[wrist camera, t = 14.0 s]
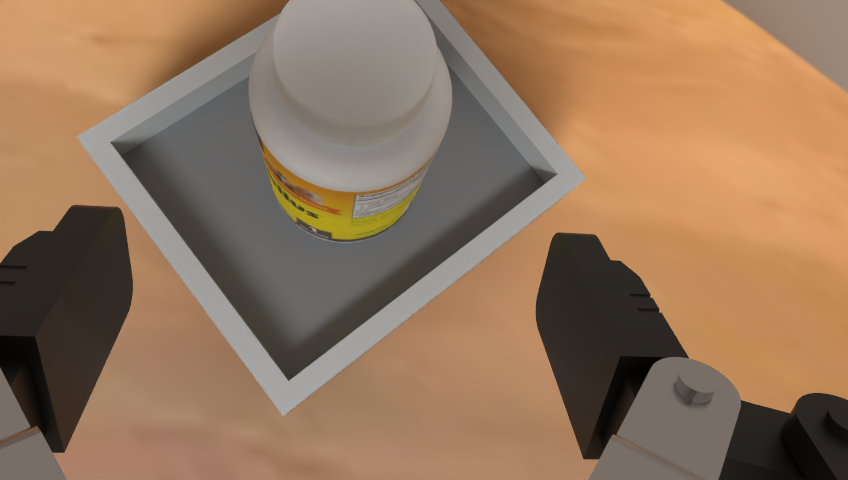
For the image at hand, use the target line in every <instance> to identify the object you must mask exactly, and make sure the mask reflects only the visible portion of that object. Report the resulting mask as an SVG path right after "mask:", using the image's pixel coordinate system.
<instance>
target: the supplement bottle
mask: <svg viewBox="0 0 848 480" xmlns="http://www.w3.org/2000/svg"><path fill="white" fill-rule="evenodd" d="M248 87H249V104H250V110H251V115H252V119H253V123H254V127H255V130H256V133H257V137H258V141H259V145H260V148H261V151H262V155H263V158H264V162H265V165H266V169H267V172H268V176H269V180H270V184H271V187H272V190H273V193H274V195H275V197H276V199H277V201H278V204H279V205H280V207H281V208H282V210H283V211H284V213H285V214H286V215H287V216H288V217H289V218H290V219H291V221H292V222H294V223H295V224H296V225H297V226H298V227H300V228H301V229H303V230H304V231H306V232H307V233H309V234H311V235H314V236H316V237H318V238H321V239H323V240H327V241H332V242H340V243H352V242H360V241H364V240H368V239H371V238H373V237H376V236H378V235H380V234H382V233H384V232H385V231H387V230H388V229H390V228H391V227H393V226H394V225H395V224H396V223H397V222H398V221H399V220H400V219H401V218H402V217H403V215H404V214H405V213H406V211H407V210H408V209H409V207H410V205H411V203H412V201H413V199H414V197H415V195H416V193H417V191H418V189H419V187H420V185H421V183H422V181H423V179H424V177H425V175H426V173H427V171H428V169H429V166H430V164H431V162H432V160H433V158H434V156H435V154H436V152H437V150H438V149H439V146H440V144H441V142H442V140H443V138H444V135H445V132H446V130H447V127H448V123H449V120H450V116H451V109H452V85H451V79H450V75H449V71H448V67H447V65H446V62H445V60H444V58H443V56H442V54H441V52H440V50H439V48H438V46H437V44H436V39H435V35H434V32H433V30H432V27H431V24H430V23H429V21H428V19H427V17H426V15H425V14H424V12H423V11H422V9H421V8H420V7H419V6H418V5H417V3H416V2H415V1H414V0H289V2H288V3H287V4H286V5H285V7H284V8H283V9H282V11H281V13H280V15H279V17H278V19H277V21H276V24H275V26H274V27H273V28H272V30H271V31H270V32H269V33H268V34H267V36H266V37H265V38H264V40H263V41H262V43H261V45H260V47H259V48H258V50H257V52H256V55H255V57H254V60H253V63H252V67H251V70H250V76H249V86H248Z"/></svg>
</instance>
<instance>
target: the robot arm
mask: <svg viewBox="0 0 848 480" xmlns="http://www.w3.org/2000/svg"><path fill="white" fill-rule="evenodd" d="M132 292H133V279H132V271H131V264H130V257H129V250H128V243H127V236H126V229H125V222H124V217H123V213H122V211H121V209H120V208H118V207H104V206H86V205H73V206H71V207H70V208H69V210H68V211H67V212H66V214H65V215H64V217H63V218H62V219H61V221H60V222H59V224H58V225H57V226H56V228H55V229H54V230H53V231H38V232H36V233H35V234H33V235H32V236H30V237H28V238H27V239H25V240H23V241H22V242H20V243H18V244H17V245H15V246H14V247H13V248H12V249H11V250H10V252H9V253H8V254H7V256H6V257H5V258H4V259H3V261H2V262H1V263H0V480H66V478H65V476H64V474H63V472H62V470H61V468H60V466H59V464H58V463H57V461H56V459H55V457H54V455H53V453H64V452H65V450H66V448H67V446H68V443H69V441H70V439H71V437H72V435H73V432H74V430H75V428H76V426H77V424H78V422H79V419H80V417H81V415H82V413H83V411H84V408H85V406H86V404H87V402H88V400H89V397H90V395H91V393H92V391H93V389H94V387H95V384H96V382H97V380H98V378H99V376H100V373H101V371H102V369H103V367H104V365H105V362H106V360H107V358H108V356H109V354H110V352H111V349H112V347H113V345H114V343H115V341H116V338H117V336H118V334H119V332H120V330H121V327H122V325H123V323H124V321H125V319H126V317H127V314H128V312H129V309H130V305H131V300H132ZM536 322H537V327H538V330H539V333H540V336H541V339H542V342H543V344H544V347H545V350H546V353H547V356H548V359H549V362H550V365H551V367H552V370H553V373H554V376H555V379H556V382H557V385H558V387H559V390H560V393H561V396H562V399H563V402H564V405H565V407H566V410H567V413H568V416H569V419H570V422H571V425H572V427H573V430H574V433H575V436H576V439H577V442H578V445H579V447H580V450H581V453H582V456H583V459H599V461H598V463H597V465H596V466H595V468H594V470H593V472H592V474H591V476H590V478H589V480H848V400H846V399H843V398H840V397H837V396H834V395H830V394H823V393H811V394H807V395H804V396H802V397H801V398H799V400H798V401H797V403H796V404H795V406H794V408H793V410H792V411H791V413H786V412H783V411H779V410H775V409H771V408H767V407H763V406H760V405H756V404H752V403H748V402H745V401H742V400H741V399H740V396H739V393H738V391H737V389H736V388H735V386H734V385H733V384H732V383H731V382H730V381H729V380H728V379H727V378H726V377H725V376H724V375H723V374H721V373H720V372H719V371H717V370H715V369H714V368H712V367H710V366H708V365H706V364H704V363H701V362H699V361H696V360H692V359H689V357H688V356H687V354H686V352H685V351H684V349H683V347H682V346H681V344H680V342H679V341H678V339H677V337H676V336H675V334H674V333H673V331H672V329H671V328H670V326H669V324H668V323H667V321H666V319H665V318H664V316H663V314H662V313H659V308H658V306H657V305H656V303H655V301H654V300H653V298H650V293H649V291H648V290H647V288H646V286H645V285H644V283H643V281H642V280H641V278H640V277H639V276H638V275H637V274H636V273H634V272H633V271H632V270H631V269H629V268H628V267H627V266H626V265H625V264H623V263H622V262H621V261H614V260H610V258H609V257H608V255H607V253H606V251H605V250H604V248H603V246H602V244H601V242H600V241H599V239H598V237H597V236H596V235H594V234H577V233H556V234H555V235H554V236H553V238H552V241H551V244H550V248H549V252H548V256H547V260H546V264H545V268H544V272H543V275H542V279H541V283H540V287H539V291H538V295H537V301H536ZM52 452H53V453H52Z"/></svg>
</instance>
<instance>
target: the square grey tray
mask: <svg viewBox="0 0 848 480" xmlns="http://www.w3.org/2000/svg"><path fill="white" fill-rule="evenodd" d="M414 1H415V2H416V3H417V5H418V6H419V7H420V8H421V9H422V11H423V12H424V14H425V15H426V17H427V19H428V21H429V23H430V24H431V27H432V30H433V32H434V35H435V39H436V44H437V46H438V48H439V50H440V52H441V54H442V56H443V58H444V60H445V62H446V65H447V67H448V71H449V75H450V79H451V85H452V109H451V116H450V120H449V123H448V127H447V130H446V132H445V135H444V138H443V140H442V142H441V144H440V146H439V149H438V150H437V152H436V154H435V156H434V158H433V160H432V162H431V164H430V166H429V169H428V171H427V173H426V175H425V177H424V179H423V181H422V183H421V185H420V187H419V189H418V191H417V193H416V195H415V197H414V199H413V201H412V203H411V205H410V207H409V209H408V210H407V211H406V213H405V214H404V215H403V217H402V218H401V219H400V220H399V221H398V222H397V223H396V224H395V225H394V226H393V227H391V228H390V229H388V230H387V231H385V232H384V233H382V234H380V235H378V236H376V237H373V238H371V239H368V240H364V241H360V242H352V243H340V242H332V241H327V240H323V239H321V238H318V237H316V236H314V235H311V234H309V233H307V232H306V231H304V230H303V229H301V228H300V227H298V226H297V225H296V224H295V223H294V222H292V221H291V219H290V218H289V217H288V216H287V215H286V214H285V213H284V211H283V210H282V208H281V207H280V205H279V204H278V201H277V199H276V197H275V195H274V193H273V190H272V187H271V184H270V180H269V176H268V172H267V169H266V165H265V162H264V158H263V155H262V151H261V148H260V145H259V141H258V137H257V133H256V130H255V127H254V123H253V119H252V115H251V110H250V104H249V87H248V86H249V76H250V70H251V67H252V63H253V60H254V57H255V55H256V52H257V50H258V48H259V47H260V45H261V43H262V41H263V40H264V38H265V37H266V36H267V34H268V33H269V32H270V31H271V30H272V28H273V27H274V26H275V24H276V21H277V19H278V17H279V15H280V14H278V15H276V16H275V17H273V18H271V19H270V20H268V21H266V22H265V23H263V24H261V25H260V26H258V27H257V28H255V29H253V30H252V31H250V32H248V33H247V34H245V35H243V36H242V37H240V38H238V39H237V40H235V41H233V42H232V43H230V44H228V45H227V46H225V47H224V48H222V49H220V50H219V51H217V52H215V53H214V54H212V55H210V56H209V57H207V58H205V59H204V60H202V61H200V62H199V63H197V64H196V65H194V66H192V67H191V68H189V69H187V70H186V71H184V72H182V73H181V74H179V75H177V76H176V77H174V78H172V79H171V80H169V81H167V82H166V83H164V84H163V85H161V86H159V87H158V88H156V89H154V90H153V91H151V92H149V93H148V94H146V95H144V96H143V97H141V98H139V99H138V100H136V101H134V102H133V103H131V104H130V105H128V106H126V107H125V108H123V109H121V110H120V111H118V112H116V113H115V114H113V115H111V116H110V117H108V118H106V119H105V120H103V121H101V122H100V123H98V124H97V125H95V126H93V127H92V128H90V129H88V130H87V131H85V132H83V133H82V134H80V135H78V136H77V139H78V140H79V141H80V143H81V144H82V146H83V147H84V148H85V150H86V151H87V152H88V154H89V155H90V156H91V158H92V159H93V160H94V162H95V163H96V164H97V166H98V167H99V168H100V170H101V171H102V172H103V174H104V175H105V177H106V178H107V179H108V181H109V182H110V183H111V185H112V186H113V187H114V189H115V190H116V191H117V193H118V194H119V195H120V197H121V198H122V199H123V201H124V202H125V203H126V205H127V206H128V208H129V209H130V210H131V212H132V213H133V214H134V216H135V217H136V218H137V220H138V221H139V222H140V224H141V225H142V226H143V228H144V229H145V230H146V232H147V233H148V234H149V236H150V237H151V239H152V240H153V241H154V243H155V244H156V245H157V247H158V248H159V249H160V251H161V252H162V253H163V255H164V256H165V257H166V259H167V260H168V261H169V263H170V264H171V266H172V267H173V268H174V270H175V271H176V272H177V274H178V275H179V276H180V278H181V279H182V280H183V282H184V283H185V284H186V286H187V287H188V288H189V290H190V291H191V292H192V294H193V295H194V297H195V298H196V299H197V301H198V302H199V303H200V305H201V306H202V307H203V309H204V310H205V311H206V313H207V314H208V315H209V317H210V318H211V319H212V321H213V322H214V323H215V325H216V326H217V328H218V329H219V330H220V332H221V333H222V334H223V336H224V337H225V338H226V340H227V341H228V342H229V344H230V345H231V346H232V348H233V349H234V350H235V352H236V353H237V354H238V356H239V357H240V359H241V360H242V361H243V363H244V364H245V365H246V367H247V368H248V369H249V371H250V372H251V373H252V375H253V376H254V377H255V379H256V380H257V381H258V383H259V384H260V386H261V387H262V388H263V390H264V391H265V392H266V394H267V395H268V396H269V398H270V399H271V400H272V402H273V403H274V404H275V406H276V407H277V408H278V410H279V411H280V412H281V414H282V415H283V416H284V415H286V414H287V413H289V412H290V411H291V410H293V409H294V408H295V407H297V406H298V405H299V404H300V403H302V402H303V401H304V400H305V399H307V398H308V397H309V396H311V395H312V394H313V393H314V392H316V391H317V390H318V389H320V388H321V387H322V386H323V385H325V384H326V383H327V382H328V381H330V380H331V379H332V378H334V377H335V376H336V375H337V374H339V373H340V372H341V371H343V370H344V369H345V368H346V367H348V366H349V365H350V364H351V363H353V362H354V361H355V360H357V359H358V358H359V357H360V356H362V355H363V354H364V353H365V352H367V351H368V350H369V349H371V348H372V347H373V346H374V345H376V344H377V343H378V342H380V341H381V340H382V339H383V338H385V337H386V336H387V335H388V334H390V333H391V332H392V331H394V330H395V329H396V328H397V327H399V326H400V325H401V324H403V323H404V322H405V321H406V320H408V319H409V318H410V317H411V316H413V315H414V314H415V313H417V312H418V311H419V310H420V309H422V308H423V307H424V306H426V305H427V304H428V303H429V302H431V301H432V300H433V299H434V298H436V297H437V296H438V295H440V294H441V293H442V292H443V291H445V290H446V289H447V288H449V287H450V286H451V285H452V284H454V283H455V282H456V281H457V280H459V279H460V278H461V277H463V276H464V275H465V274H466V273H468V272H469V271H470V270H471V269H473V268H474V267H475V266H477V265H478V264H479V263H480V262H482V261H483V260H484V259H486V258H487V257H488V256H489V255H491V254H492V253H493V252H494V251H496V250H497V249H498V248H500V247H501V246H502V245H503V244H505V243H506V242H507V241H509V240H510V239H511V238H512V237H514V236H515V235H516V234H517V233H519V232H520V231H521V230H523V229H524V228H525V227H526V226H528V225H529V224H530V223H532V222H533V221H534V220H535V219H537V218H538V217H539V216H540V215H542V214H543V213H544V212H546V211H547V210H548V209H549V208H551V207H552V206H553V205H554V204H556V203H557V202H558V201H560V200H561V199H562V198H563V197H565V196H566V195H567V194H568V193H569V192H571V191H572V190H573V189H574V188H575V187H577V186H578V185H579V184H580V183H582V182H583V181H584V180H585V179H586V177H585V176H584V175H583V174H582V172H581V171H580V170H579V169H578V168H577V166H576V165H575V164H574V163H573V161H572V160H571V159H570V158H569V157H568V155H567V154H566V153H565V152H564V151H563V149H562V148H561V147H560V146H559V144H558V143H557V142H556V141H555V140H554V138H553V137H552V136H551V135H550V134H549V132H548V131H547V130H546V129H545V127H544V126H543V125H542V124H541V123H540V121H539V120H538V119H537V118H536V116H535V115H534V114H533V113H532V112H531V110H530V109H529V108H528V107H527V106H526V104H525V103H524V102H523V101H522V99H521V98H520V97H519V96H518V95H517V93H516V92H515V91H514V90H513V89H512V87H511V86H510V85H509V84H508V82H507V81H506V80H505V79H504V78H503V76H502V75H501V74H500V73H499V72H498V70H497V69H496V68H495V67H494V65H493V64H492V63H491V62H490V61H489V59H488V58H487V57H486V56H485V54H484V53H483V52H482V51H481V50H480V48H479V47H478V46H477V45H476V44H475V42H474V41H473V40H472V39H471V37H470V36H469V35H468V34H467V33H466V31H465V30H464V29H463V28H462V27H461V25H460V24H459V23H458V22H457V20H456V19H455V18H454V17H453V16H452V14H451V13H450V12H449V11H448V10H447V8H446V7H445V6H444V5H443V3H442V2H441V1H440V0H414Z"/></svg>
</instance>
